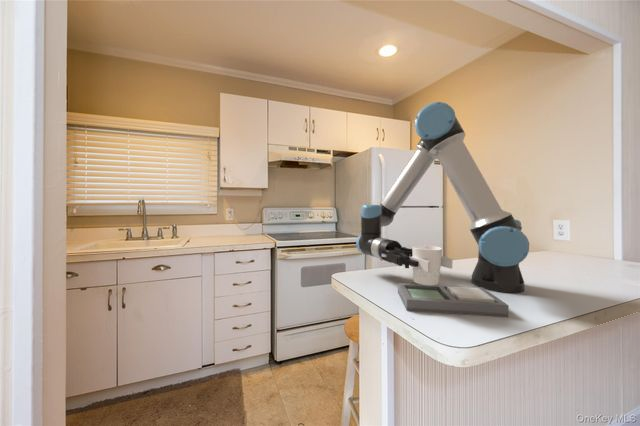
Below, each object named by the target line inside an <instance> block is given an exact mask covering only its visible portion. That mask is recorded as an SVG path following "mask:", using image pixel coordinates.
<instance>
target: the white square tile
mask: <svg viewBox="0 0 640 426" xmlns="http://www.w3.org/2000/svg"><path fill="white" fill-rule="evenodd" d="M446 286H447V290H448V291H449V292H450V293H451V294H452V295H453V296H454V297H455V298H456V299H457V300H462V301H480V302H494V301H495V299H493V298H492V297H490V296H489V295H488V294H486V293H485V292H483V291H482V290H481V289H479V288H471V287H472V286H465V287H451V286H452V285H446Z"/></svg>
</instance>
